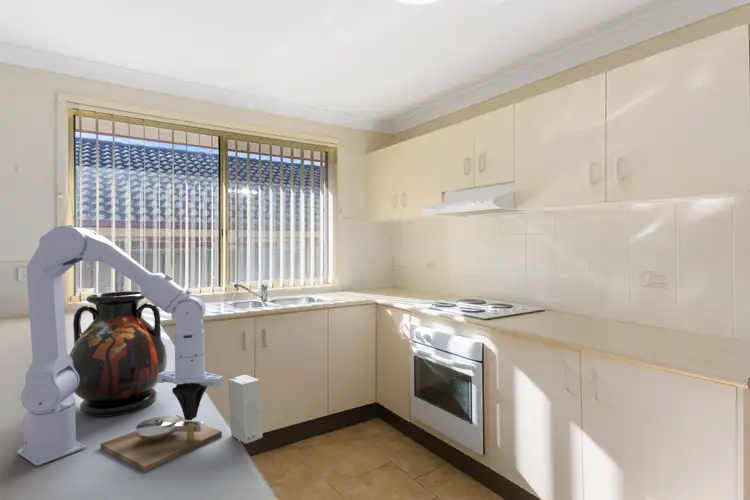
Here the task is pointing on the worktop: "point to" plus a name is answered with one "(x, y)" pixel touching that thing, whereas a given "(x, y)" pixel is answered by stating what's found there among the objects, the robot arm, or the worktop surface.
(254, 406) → the skincare box
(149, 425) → the silver disc with handle
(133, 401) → the amphora vase
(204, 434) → the base board
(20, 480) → the worktop surface
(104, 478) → the worktop surface
